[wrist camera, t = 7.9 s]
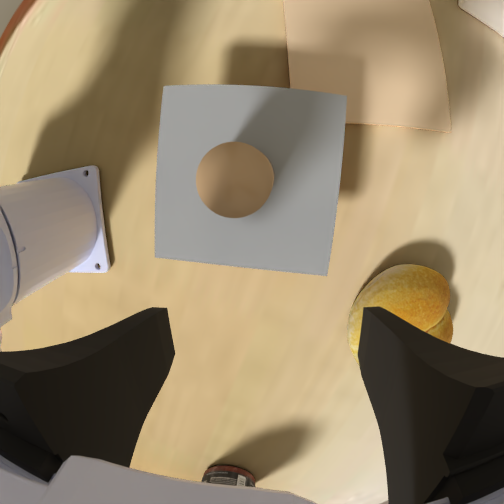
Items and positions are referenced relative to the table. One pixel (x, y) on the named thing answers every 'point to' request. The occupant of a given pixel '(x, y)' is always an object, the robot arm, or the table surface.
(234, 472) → the supplement bottle
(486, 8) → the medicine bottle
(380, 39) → the mat
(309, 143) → the lid
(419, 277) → the bread roll
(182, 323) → the table surface
